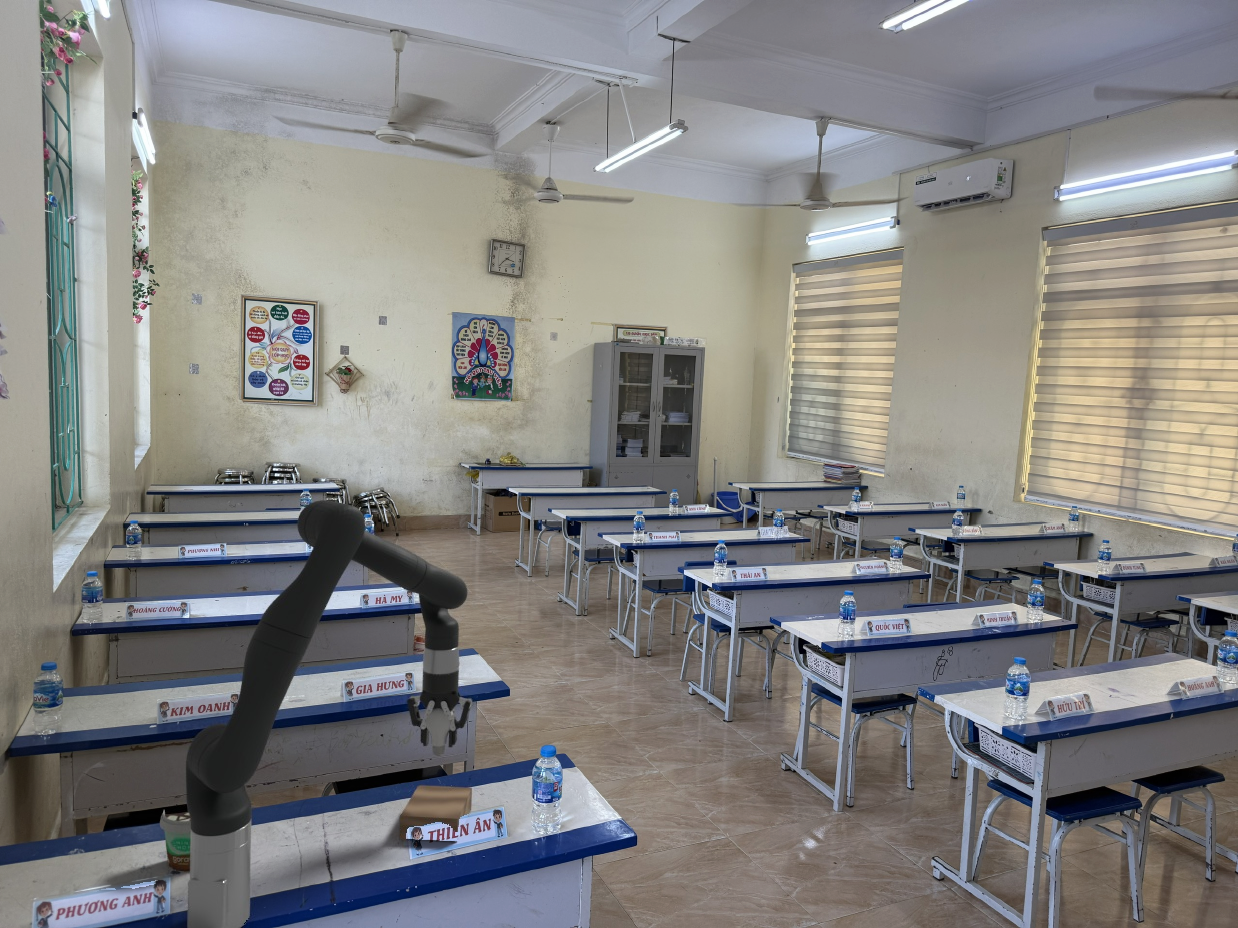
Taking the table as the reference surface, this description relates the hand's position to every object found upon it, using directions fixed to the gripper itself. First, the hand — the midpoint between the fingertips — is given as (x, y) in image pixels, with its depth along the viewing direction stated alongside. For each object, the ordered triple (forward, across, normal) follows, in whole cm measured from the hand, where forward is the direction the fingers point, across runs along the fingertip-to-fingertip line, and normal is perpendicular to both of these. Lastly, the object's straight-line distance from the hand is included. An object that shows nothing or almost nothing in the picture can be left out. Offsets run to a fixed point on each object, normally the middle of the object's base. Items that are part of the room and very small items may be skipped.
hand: (438, 744), depth 169 cm
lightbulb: (+3, 0, 0) cm, 3 cm away
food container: (+18, -42, -20) cm, 50 cm away
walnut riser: (+17, 0, 0) cm, 17 cm away
